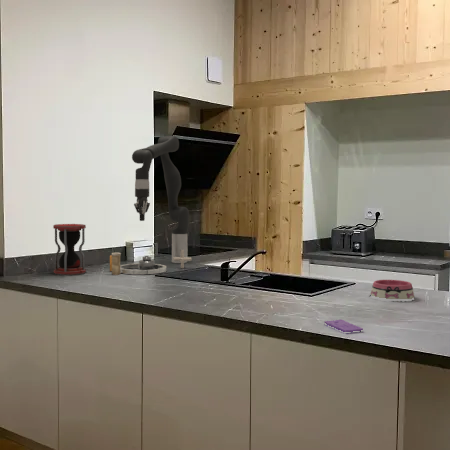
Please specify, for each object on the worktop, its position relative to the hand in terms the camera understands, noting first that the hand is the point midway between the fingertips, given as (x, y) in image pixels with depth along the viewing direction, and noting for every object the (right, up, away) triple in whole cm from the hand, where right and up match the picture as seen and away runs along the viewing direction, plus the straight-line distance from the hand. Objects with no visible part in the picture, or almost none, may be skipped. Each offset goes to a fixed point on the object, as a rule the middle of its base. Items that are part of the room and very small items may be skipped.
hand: (142, 220), depth 304 cm
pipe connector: (+20, -27, +15) cm, 37 cm away
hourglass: (-37, -27, -7) cm, 46 cm away
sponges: (+83, -37, -115) cm, 147 cm away
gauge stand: (-12, -28, -10) cm, 32 cm away
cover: (+2, -27, +6) cm, 28 cm away
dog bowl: (+115, -34, -62) cm, 135 cm away
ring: (-2, -27, +2) cm, 27 cm away
